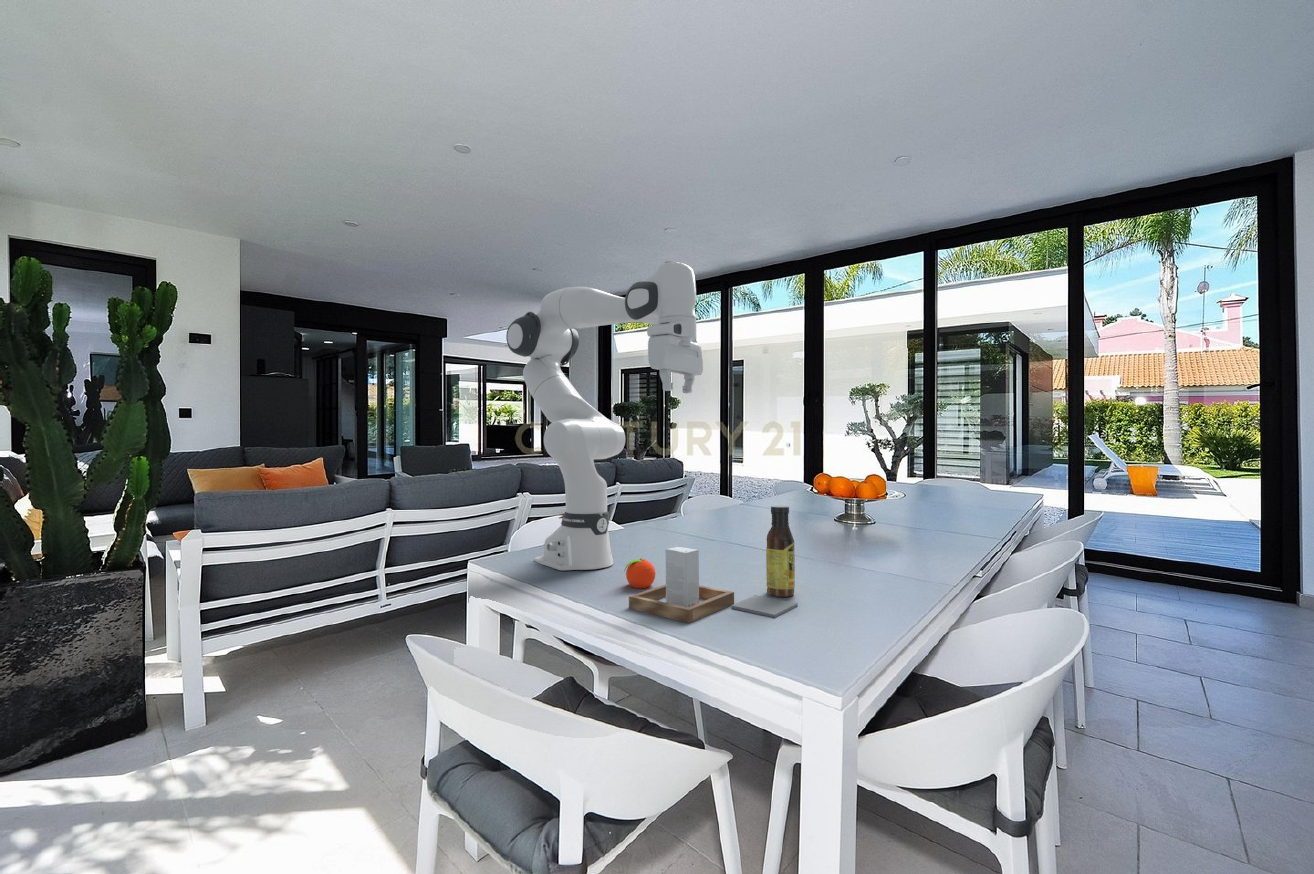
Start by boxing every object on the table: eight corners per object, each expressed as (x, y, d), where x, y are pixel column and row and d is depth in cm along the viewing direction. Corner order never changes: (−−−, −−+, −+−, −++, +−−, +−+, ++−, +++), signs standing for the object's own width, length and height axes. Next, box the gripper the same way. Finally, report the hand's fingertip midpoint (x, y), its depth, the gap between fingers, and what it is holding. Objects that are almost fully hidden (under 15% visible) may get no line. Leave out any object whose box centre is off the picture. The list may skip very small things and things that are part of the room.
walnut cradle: (628, 608, 122) (628, 596, 122) (676, 591, 135) (676, 580, 135) (689, 623, 112) (688, 610, 112) (734, 603, 125) (734, 592, 125)
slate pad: (731, 608, 122) (731, 605, 122) (755, 597, 130) (755, 595, 130) (774, 617, 116) (774, 614, 116) (797, 606, 123) (797, 603, 123)
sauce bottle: (795, 599, 129) (794, 508, 128) (766, 597, 130) (765, 507, 130) (794, 591, 135) (794, 504, 135) (766, 589, 136) (766, 504, 136)
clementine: (631, 595, 132) (631, 563, 132) (616, 588, 138) (616, 558, 138) (661, 589, 137) (661, 559, 137) (645, 583, 142) (645, 554, 142)
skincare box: (699, 606, 123) (699, 549, 123) (686, 611, 120) (686, 552, 120) (678, 601, 127) (678, 546, 127) (664, 605, 124) (664, 548, 124)
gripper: (686, 339, 147) (686, 395, 147) (642, 326, 129) (643, 389, 129) (709, 337, 143) (709, 394, 143) (667, 323, 126) (668, 388, 126)
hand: (677, 392), depth 136 cm, fingers open, 8 cm apart
